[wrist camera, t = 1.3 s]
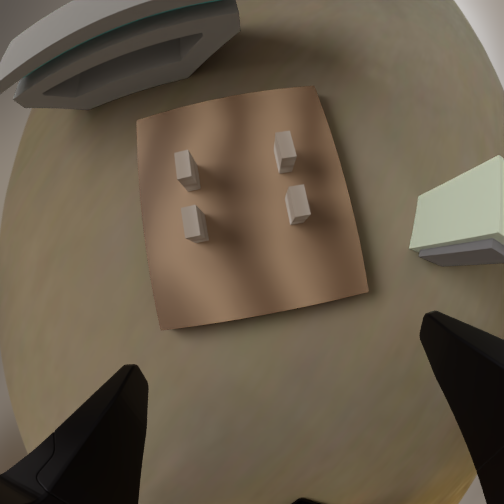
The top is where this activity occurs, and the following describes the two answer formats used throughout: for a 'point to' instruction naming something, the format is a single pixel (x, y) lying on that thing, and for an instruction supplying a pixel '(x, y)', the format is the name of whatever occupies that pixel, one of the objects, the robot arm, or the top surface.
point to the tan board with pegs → (245, 209)
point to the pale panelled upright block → (463, 218)
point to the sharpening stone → (113, 49)
